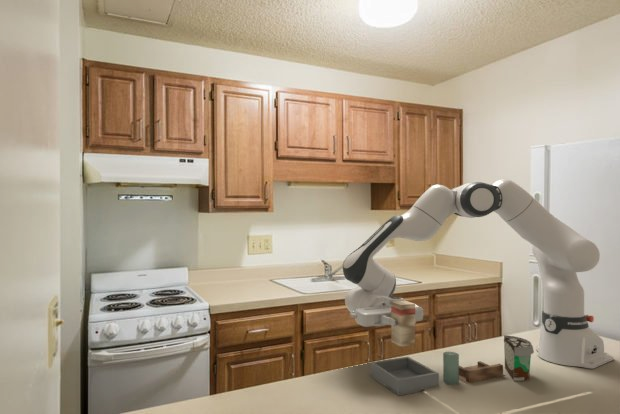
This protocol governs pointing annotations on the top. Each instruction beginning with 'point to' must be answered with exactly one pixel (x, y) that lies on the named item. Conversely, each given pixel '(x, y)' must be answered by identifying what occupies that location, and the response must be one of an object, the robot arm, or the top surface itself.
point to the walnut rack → (480, 372)
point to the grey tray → (404, 375)
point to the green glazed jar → (451, 368)
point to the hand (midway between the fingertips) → (405, 321)
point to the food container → (517, 357)
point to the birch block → (403, 323)
